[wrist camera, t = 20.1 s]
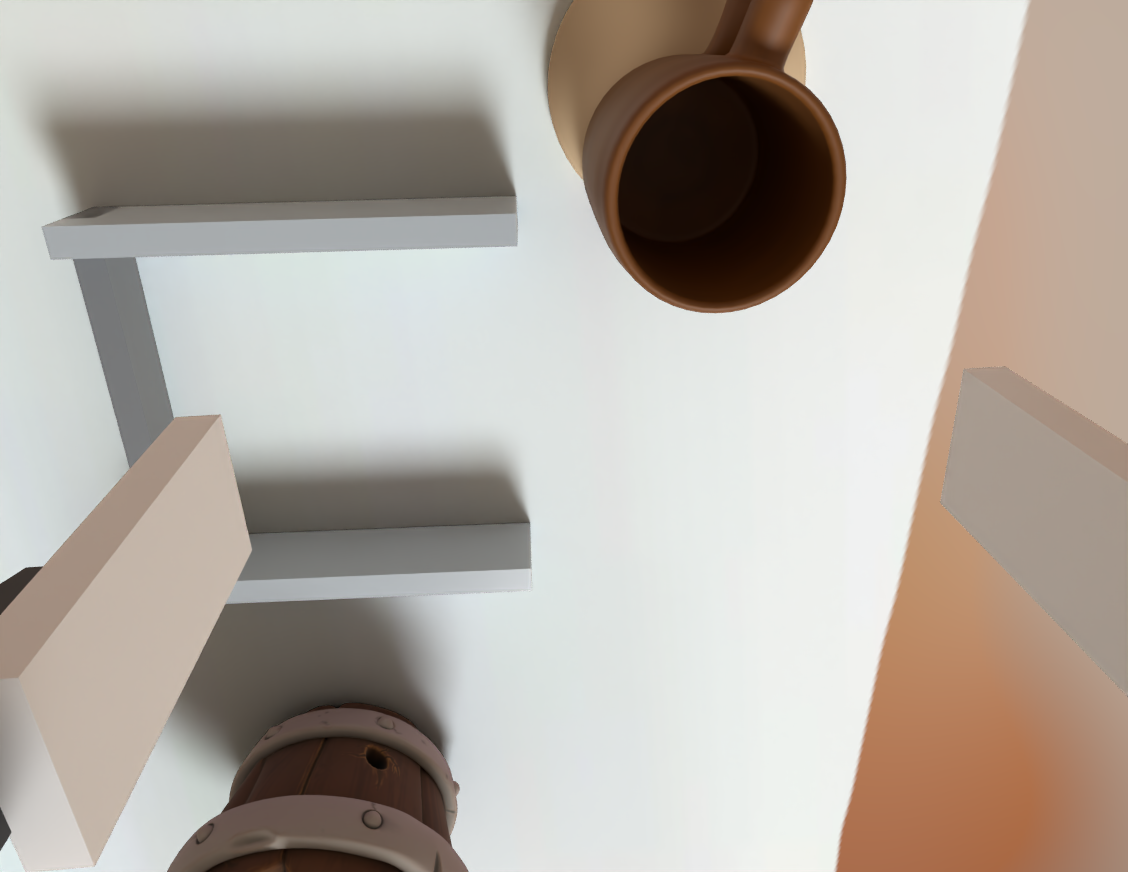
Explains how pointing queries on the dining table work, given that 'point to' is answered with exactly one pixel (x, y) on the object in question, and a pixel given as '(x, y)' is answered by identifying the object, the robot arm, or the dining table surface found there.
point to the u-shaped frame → (123, 233)
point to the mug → (717, 166)
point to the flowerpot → (334, 800)
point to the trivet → (625, 54)
